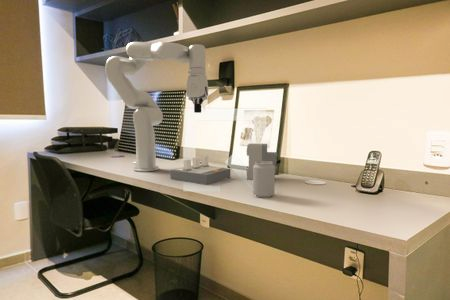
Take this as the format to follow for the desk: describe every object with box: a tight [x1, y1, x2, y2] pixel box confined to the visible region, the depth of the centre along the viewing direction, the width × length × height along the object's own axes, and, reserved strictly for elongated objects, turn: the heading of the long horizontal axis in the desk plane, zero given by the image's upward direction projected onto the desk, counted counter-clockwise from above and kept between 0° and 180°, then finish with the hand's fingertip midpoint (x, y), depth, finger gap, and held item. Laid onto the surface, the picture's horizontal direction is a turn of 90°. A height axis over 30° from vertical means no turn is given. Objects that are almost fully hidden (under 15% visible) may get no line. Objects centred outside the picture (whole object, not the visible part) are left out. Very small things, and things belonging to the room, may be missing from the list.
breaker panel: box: [170, 165, 231, 186], centre depth 144 cm, size 20×17×4 cm
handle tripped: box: [191, 156, 201, 168], centre depth 145 cm, size 3×3×4 cm
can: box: [252, 161, 276, 198], centre depth 114 cm, size 8×8×12 cm
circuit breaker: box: [246, 142, 282, 181], centre depth 143 cm, size 8×14×15 cm, turn 78°
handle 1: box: [182, 158, 192, 170], centre depth 140 cm, size 3×3×4 cm
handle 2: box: [200, 155, 210, 166], centre depth 150 cm, size 3×3×4 cm
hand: (197, 112), depth 154 cm, fingers closed
